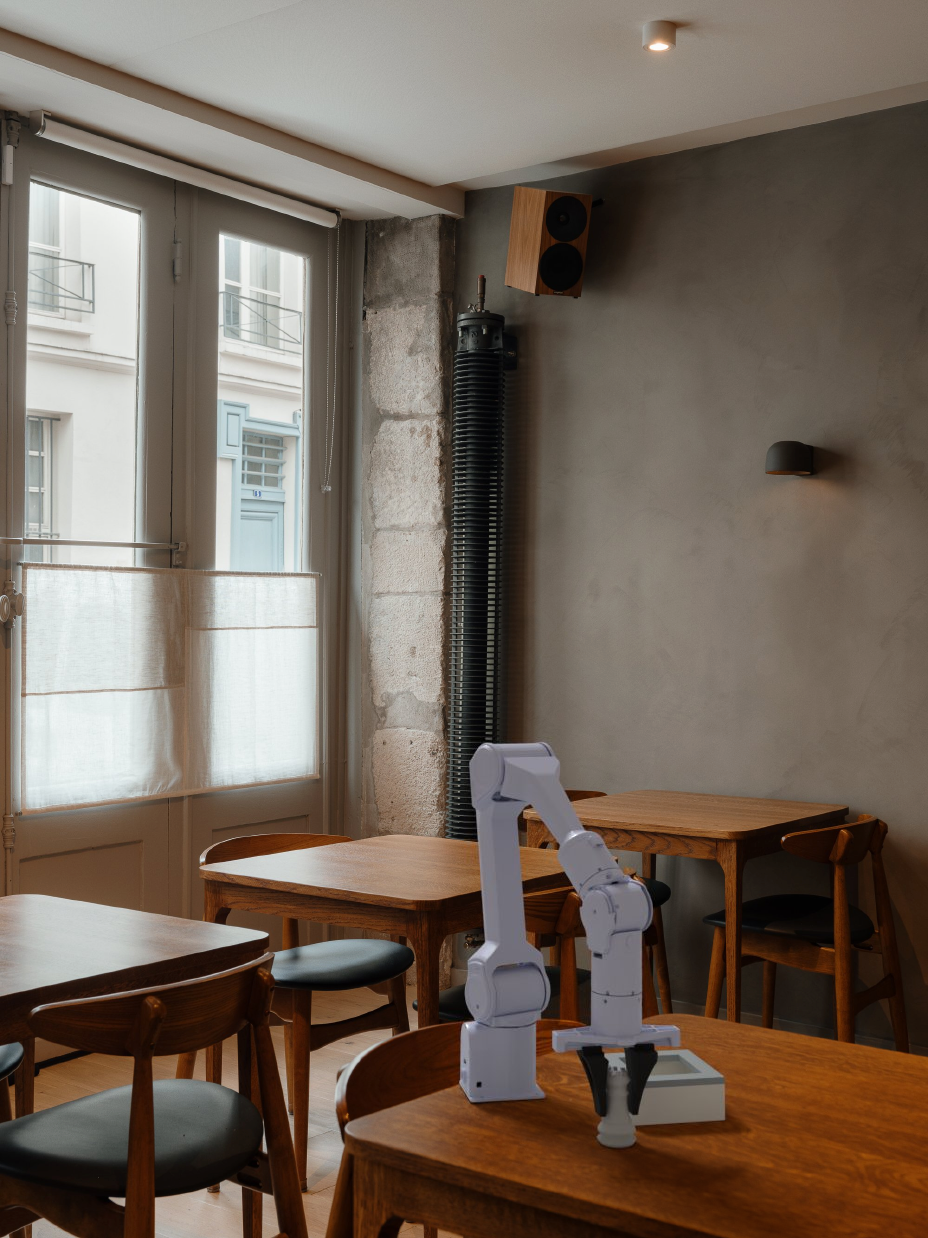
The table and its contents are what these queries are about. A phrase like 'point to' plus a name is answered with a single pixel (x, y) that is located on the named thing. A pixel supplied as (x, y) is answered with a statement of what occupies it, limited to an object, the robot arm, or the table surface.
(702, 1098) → the piece box
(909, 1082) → the table surface
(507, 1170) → the table surface
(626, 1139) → the rook chess piece
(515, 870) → the robot arm
